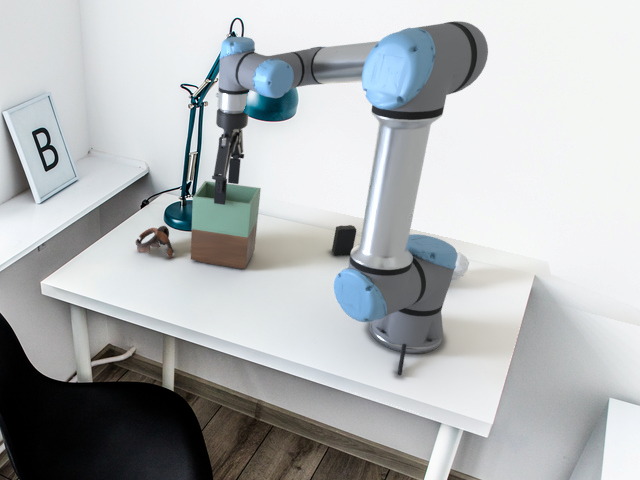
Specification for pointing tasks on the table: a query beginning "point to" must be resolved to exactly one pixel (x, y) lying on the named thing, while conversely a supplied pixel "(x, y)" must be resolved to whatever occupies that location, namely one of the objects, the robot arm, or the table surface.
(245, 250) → the bottom basket
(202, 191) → the box
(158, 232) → the brown headphones
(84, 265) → the table surface
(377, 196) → the robot arm
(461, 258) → the puffin
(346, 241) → the ink cartridge
